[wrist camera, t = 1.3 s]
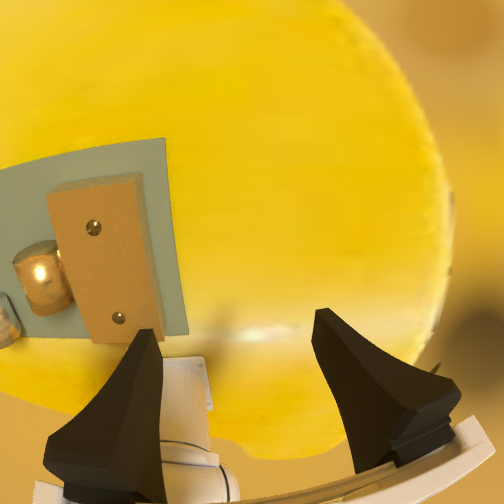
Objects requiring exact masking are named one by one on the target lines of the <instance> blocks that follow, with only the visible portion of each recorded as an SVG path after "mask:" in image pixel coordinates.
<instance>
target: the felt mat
mask: <svg viewBox="0 0 504 504" xmlns="http://www.w3.org/2000/svg"><path fill="white" fill-rule="evenodd" d="M137 172H142V178H143V187H144V195H145V203H146V210H147V217H148V224H149V231H150V237H151V243H152V249H153V255H154V261H155V266H156V272H157V277H158V282H159V287H160V292H161V297H162V301H163V306H164V311H165V315H166V319H167V321H166V332H165V336H176V335H189V329H188V323H187V317H186V312H185V306H184V300H183V294H182V288H181V281H180V274H179V268H178V261H177V253H176V246H175V238H174V230H173V222H172V213H171V203H170V194H169V183H168V171H167V159H166V145H165V138H156V139H148V140H140V141H132V142H125V143H118V144H112V145H106V146H100V147H94V148H89V149H84V150H78V151H73V152H69V153H64V154H59V155H55V156H51V157H46V158H42V159H38V160H34V161H30V162H27V163H23V164H19V165H16V166H12V167H9V168H5V169H2V170H0V292H4V293H5V294H6V296H7V298H8V300H9V303H10V305H11V307H12V309H13V311H14V313H15V315H16V317H17V319H18V321H19V323H20V325H21V333H20V335H19V336H20V337H41V338H91V337H90V335H89V332H88V330H87V328H86V325H85V323H84V321H83V318H82V316H81V313H80V311H79V308H78V305H77V303H76V300H75V299H74V300H73V302H72V303H71V304H70V305H69V306H68V307H67V308H66V309H64V310H63V311H61V312H59V313H57V314H54V315H51V316H38V315H35V314H34V313H33V312H32V310H31V308H30V306H29V303H28V301H27V299H26V296H25V294H24V292H23V289H22V287H21V284H20V282H19V279H18V277H17V274H16V271H15V269H14V266H13V263H12V261H13V259H14V257H15V256H16V255H17V254H18V253H19V252H20V251H21V250H23V249H24V248H26V247H28V246H30V245H32V244H34V243H37V242H40V241H45V240H56V238H55V234H54V231H53V227H52V223H51V219H50V214H49V210H48V205H47V201H46V196H45V195H46V194H48V193H49V192H51V191H52V190H53V189H55V188H56V187H58V186H59V185H61V184H64V183H70V182H76V181H81V180H88V179H94V178H100V177H107V176H114V175H122V174H129V173H137Z"/></svg>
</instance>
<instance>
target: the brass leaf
mask: <svg viewBox="0 0 504 504" xmlns="http://www.w3.org/2000/svg"><path fill="white" fill-rule="evenodd" d="M45 196H46V201H47V205H48V210H49V214H50V219H51V223H52V227H53V231H54V234H55V238H56V240H45V241H40V242H37V243H34V244H32V245H30V246H28V247H26V248H24V249H23V250H21V251H20V252H19V253H18V254H17V255H16V256H15V257H14V259H13V261H12V263H13V266H14V269H15V271H16V274H17V277H18V279H19V282H20V284H21V287H22V289H23V292H24V294H25V296H26V299H27V301H28V303H29V306H30V308H31V310H32V312H33V313H34V314H35V315H38V316H51V315H54V314H57V313H59V312H61V311H63V310H64V309H66V308H67V307H68V306H69V305H70V304H71V303H72V302H73V300H74V299H75V300H76V303H77V305H78V308H79V311H80V313H81V316H82V318H83V321H84V323H85V325H86V328H87V330H88V332H89V335H90V337H91V339H92V342H93V343H132V341H133V339H134V338H135V336H136V334H137V332H138V331H139V330H140V329H151V328H153V330H154V333H155V337H156V340H157V342H160V341H165V332H166V321H167V319H166V315H165V311H164V306H163V301H162V297H161V292H160V287H159V282H158V277H157V272H156V266H155V261H154V255H153V249H152V243H151V237H150V231H149V224H148V217H147V210H146V203H145V195H144V187H143V178H142V172H137V173H129V174H122V175H114V176H107V177H100V178H94V179H88V180H81V181H76V182H70V183H64V184H61V185H59V186H58V187H56V188H55V189H53V190H52V191H51V192H49V193H48V194H46V195H45Z"/></svg>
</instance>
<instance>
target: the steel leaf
mask: <svg viewBox="0 0 504 504" xmlns="http://www.w3.org/2000/svg"><path fill="white" fill-rule="evenodd" d="M20 333H21V325H20V323H19V321H18V319H17V317H16V315H15V313H14V311H13V309H12V307H11V305H10V303H9V300H8V298H7V296H6V294H5V293H4V292H0V349H3V348H6V347H8V346H10V345H11V344H13V343H14V342H15V341H16V340H17V338H18V337H19V335H20Z"/></svg>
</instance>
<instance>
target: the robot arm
mask: <svg viewBox="0 0 504 504" xmlns="http://www.w3.org/2000/svg"><path fill="white" fill-rule="evenodd" d="M311 342H312V346H313V349H314V352H315V355H316V359H317V361H318V364H319V366H320V368H321V370H322V372H323V374H324V377H325V379H326V381H327V383H328V385H329V387H330V389H331V391H332V394H333V396H334V398H335V400H336V403H337V405H338V408H339V412H340V415H341V418H342V421H343V424H344V428H345V431H346V435H347V438H348V442H349V446H350V450H351V454H352V459H353V463H354V469H355V474H356V475H353V476H350V477H347V478H345V479H341V480H338V481H334V482H331V483H328V484H324V485H320V486H316V487H312V488H308V489H304V490H300V491H296V492H291V493H286V494H281V495H275V496H270V497H264V498H257V499H250V500H242V501H240V492H239V485H238V482H237V479H236V476H235V475H234V473H233V472H232V471H231V470H230V468H229V467H228V466H227V465H225V464H219V458H218V454H217V453H211V447H210V437H209V427H208V416H207V411H211V410H213V409H214V407H213V401H212V396H211V391H210V386H209V380H208V375H207V369H206V363H205V358H204V357H202V356H192V357H176V358H162V355H161V352H160V349H159V346H158V343H157V340H156V337H155V333H154V330H153V328H151V329H140V330H139V331H138V332H137V334H136V336H135V338H134V339H133V341H132V343H131V345H130V346H129V348H128V350H127V352H126V353H125V355H124V357H123V358H122V360H121V361H120V363H119V365H118V366H117V368H116V369H115V371H114V372H113V374H112V375H111V376H110V378H109V379H108V381H107V382H106V383H105V385H104V386H103V387H102V389H101V390H100V391H99V392H98V394H97V395H96V396H95V397H94V398H93V399H92V400H91V401H90V402H89V404H88V405H87V406H86V407H85V408H84V409H83V410H82V411H81V412H80V413H78V414H77V415H76V416H75V417H74V418H73V419H72V420H71V421H69V422H68V423H67V424H66V425H64V426H63V427H62V428H60V429H59V430H58V431H56V432H55V433H53V434H52V435H50V436H49V437H48V440H47V443H46V448H45V453H44V459H43V465H44V466H45V468H46V469H47V470H49V472H51V473H52V474H54V475H55V476H56V477H58V478H59V479H61V480H62V481H64V488H63V487H60V486H58V485H54V484H51V483H47V482H42V481H40V480H36V481H35V487H34V494H33V502H32V504H318V503H322V502H325V501H329V500H333V499H336V498H339V497H342V496H344V497H343V500H342V501H333V502H329V503H325V504H419V503H421V502H423V501H425V500H427V499H428V498H430V497H432V496H434V495H435V494H437V493H439V492H440V491H442V490H444V489H445V488H447V487H449V486H450V485H452V484H453V483H455V482H456V481H458V480H459V479H461V478H463V477H464V476H465V475H467V474H468V473H470V472H471V471H472V470H474V469H475V468H476V467H478V466H479V465H480V464H481V463H483V462H484V461H485V460H487V458H489V457H490V456H491V455H492V454H494V453H495V448H494V447H493V445H492V444H491V442H490V440H489V439H488V437H487V435H486V434H485V432H484V430H483V429H482V427H481V426H480V424H479V422H478V421H477V419H476V418H475V416H474V415H471V416H469V417H467V418H466V419H464V420H462V421H461V422H459V423H458V424H456V425H455V426H453V427H452V428H451V426H450V425H449V423H450V422H451V419H450V417H449V414H450V412H451V411H452V410H453V409H454V407H455V406H456V405H457V403H458V402H459V400H460V398H461V392H460V390H459V389H458V387H457V386H456V384H455V383H454V382H453V380H452V379H449V378H446V377H442V376H439V375H435V374H432V373H429V372H426V371H423V370H420V369H418V368H416V367H413V366H411V365H409V364H407V363H405V362H403V361H401V360H399V359H397V358H395V357H393V356H391V355H390V354H388V353H386V352H385V351H383V350H381V349H380V348H378V347H377V346H375V345H374V344H373V343H371V342H370V341H368V340H367V339H366V338H364V337H363V336H362V335H360V334H359V333H358V332H357V331H355V330H354V329H353V328H352V327H350V326H349V325H348V324H347V323H346V322H344V321H343V320H342V319H341V318H340V317H339V316H338V315H336V314H335V313H334V312H333V311H332V310H331V309H329V308H324V309H317V310H316V312H315V320H314V327H313V334H312V340H311ZM345 495H346V496H345Z"/></svg>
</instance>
